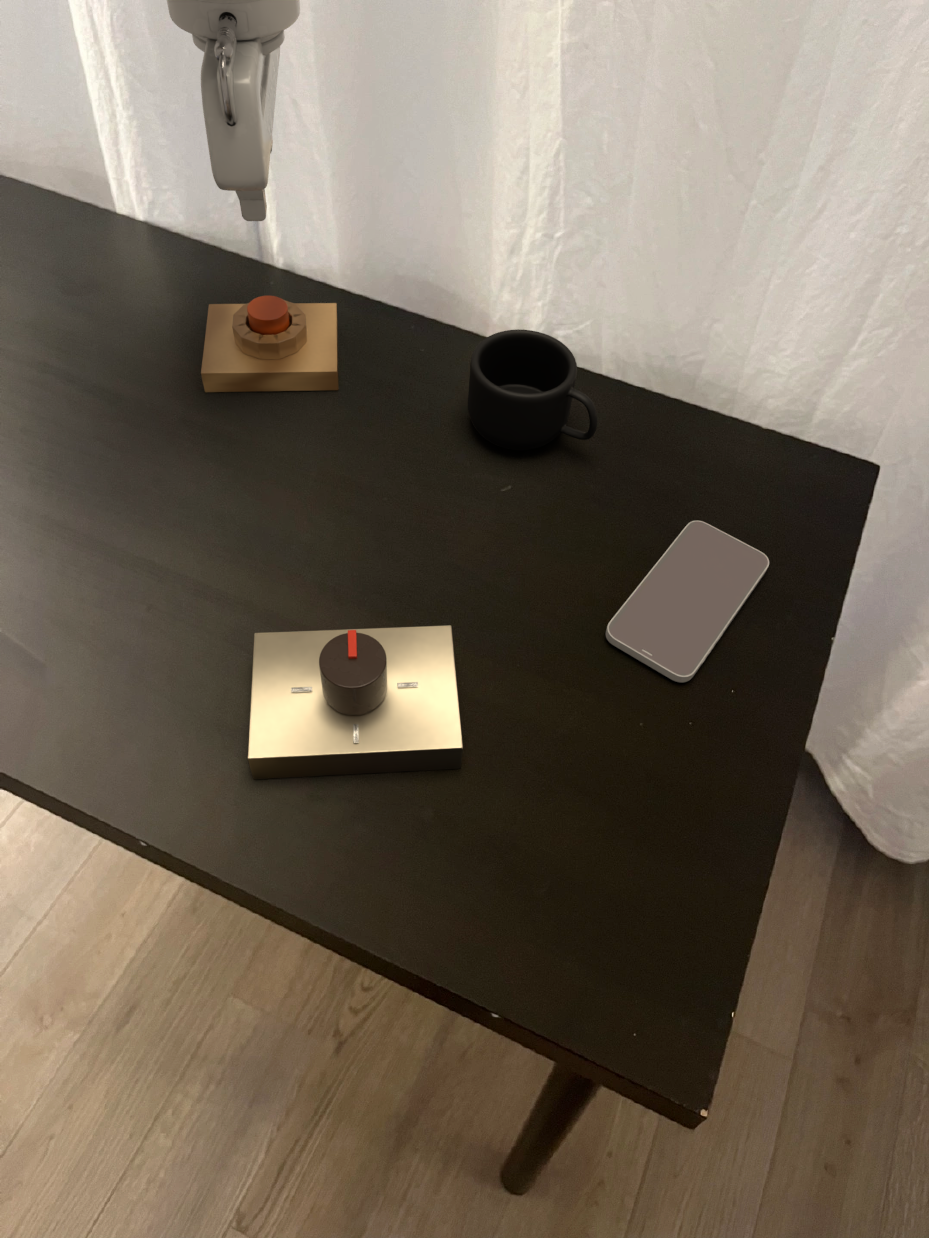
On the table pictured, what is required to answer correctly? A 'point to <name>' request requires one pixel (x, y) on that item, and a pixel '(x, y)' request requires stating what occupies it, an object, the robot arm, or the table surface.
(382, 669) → the dial knob
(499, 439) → the mug
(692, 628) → the smartphone
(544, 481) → the table surface
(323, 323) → the button block
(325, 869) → the table surface
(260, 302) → the red button
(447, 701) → the dial panel
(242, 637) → the table surface
